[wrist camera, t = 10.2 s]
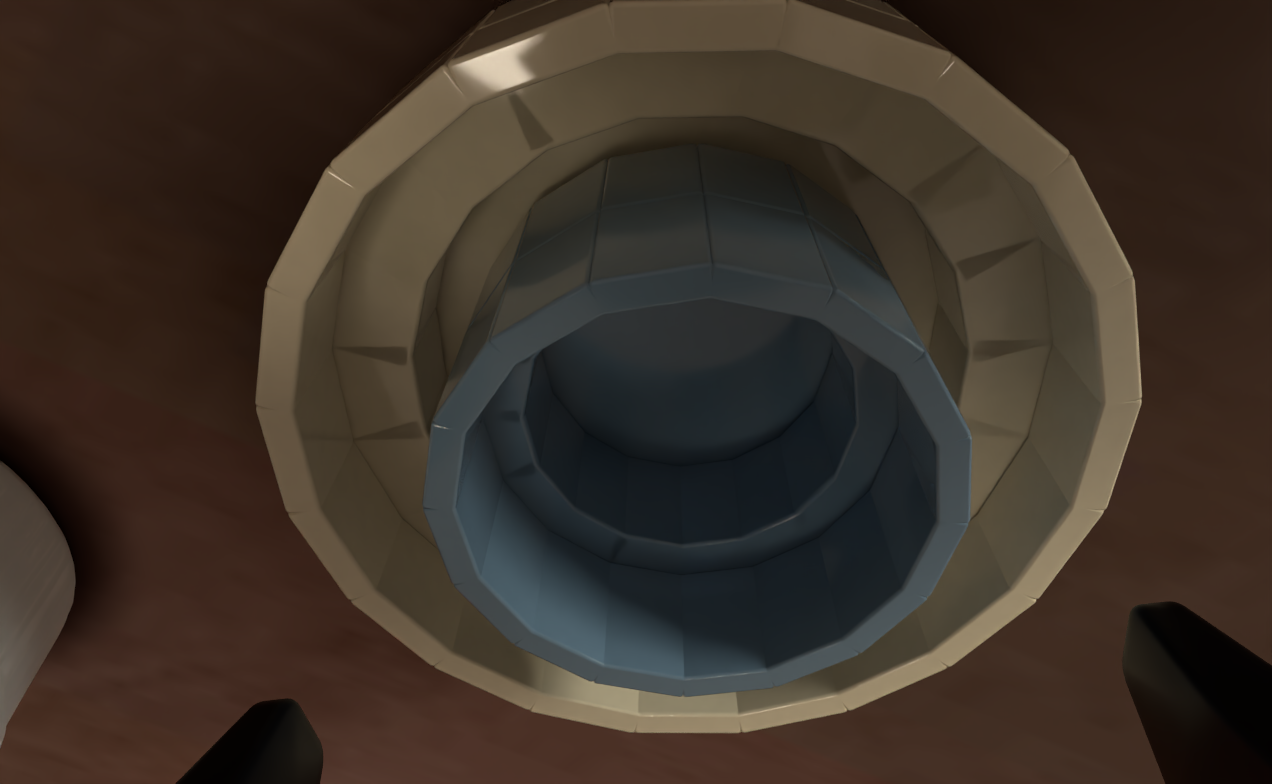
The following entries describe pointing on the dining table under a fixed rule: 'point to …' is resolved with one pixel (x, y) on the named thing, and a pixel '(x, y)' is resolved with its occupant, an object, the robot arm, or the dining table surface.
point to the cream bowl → (741, 121)
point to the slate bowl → (694, 432)
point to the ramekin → (28, 588)
